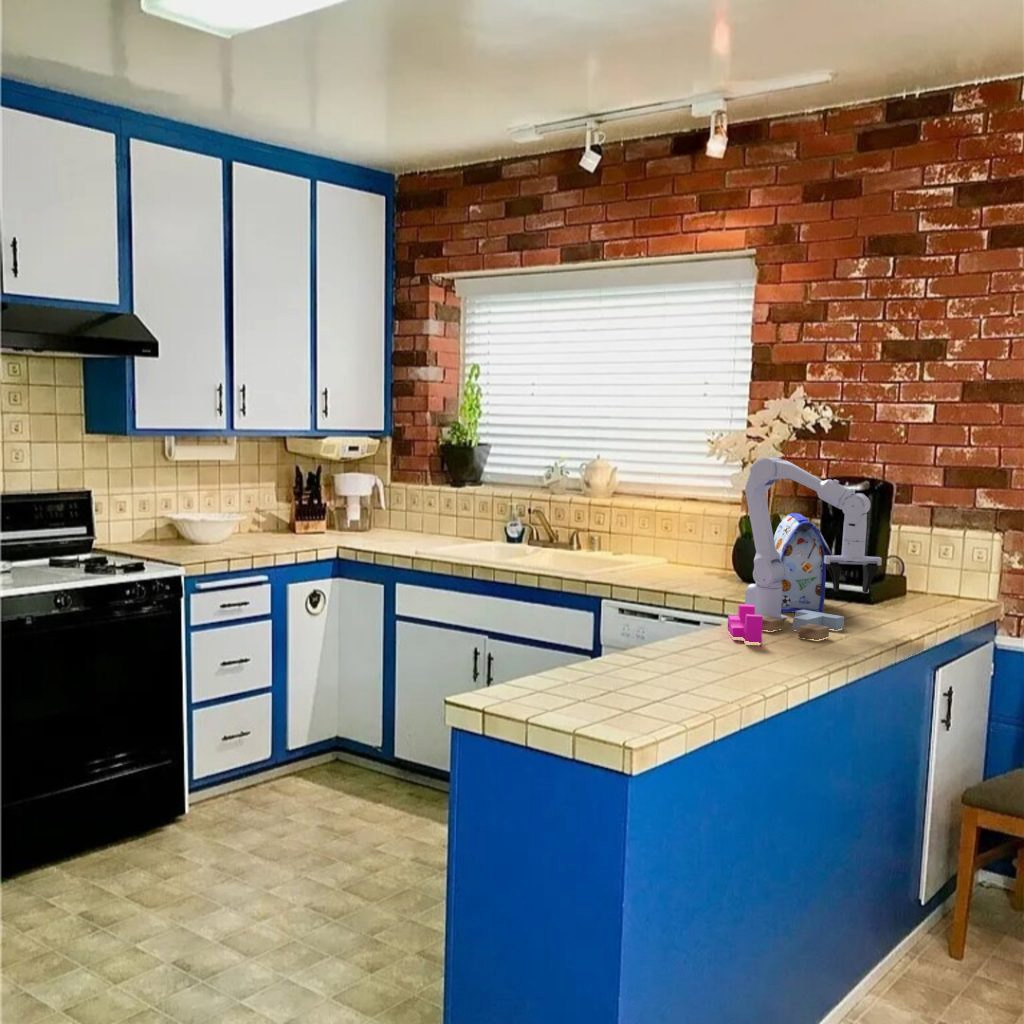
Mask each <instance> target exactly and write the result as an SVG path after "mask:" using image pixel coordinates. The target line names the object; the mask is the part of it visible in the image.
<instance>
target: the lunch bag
mask: <svg viewBox="0 0 1024 1024" xmlns="http://www.w3.org/2000/svg"><path fill="white" fill-rule="evenodd" d="M773 537H774V543H775V548H776V550H777V552H778V553H779V555H780V558H781V561H782V563H783V564H784V566H785V568H786V576H785V578H784V579H783V580H782V585H783V586H782V605H781V613H795V611H799V610H809V611H815V612H821V613H824V611H823V610H824V606H825V597H826V577H827V576H826V575H827V574H826V573H827V572H826V568H827V564H826V563H824V556H833V553H832V552H831V549H830V547H829V545H828V543H827V542H826V539H824V536H823V535H822V532H821V531H820V529H819V528H818V526H816V524H815V523H813V522H812V521H810V520H809V519H808V518H807V517H805V516H804V515H802V514H801V513H797V512H791V513H789V514H787V515H786V516H785V517H784V518H783V519H782V520H781V521H780V522H779V524H778V526H777V528H776V531H775V533H774V534H773Z"/></svg>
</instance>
